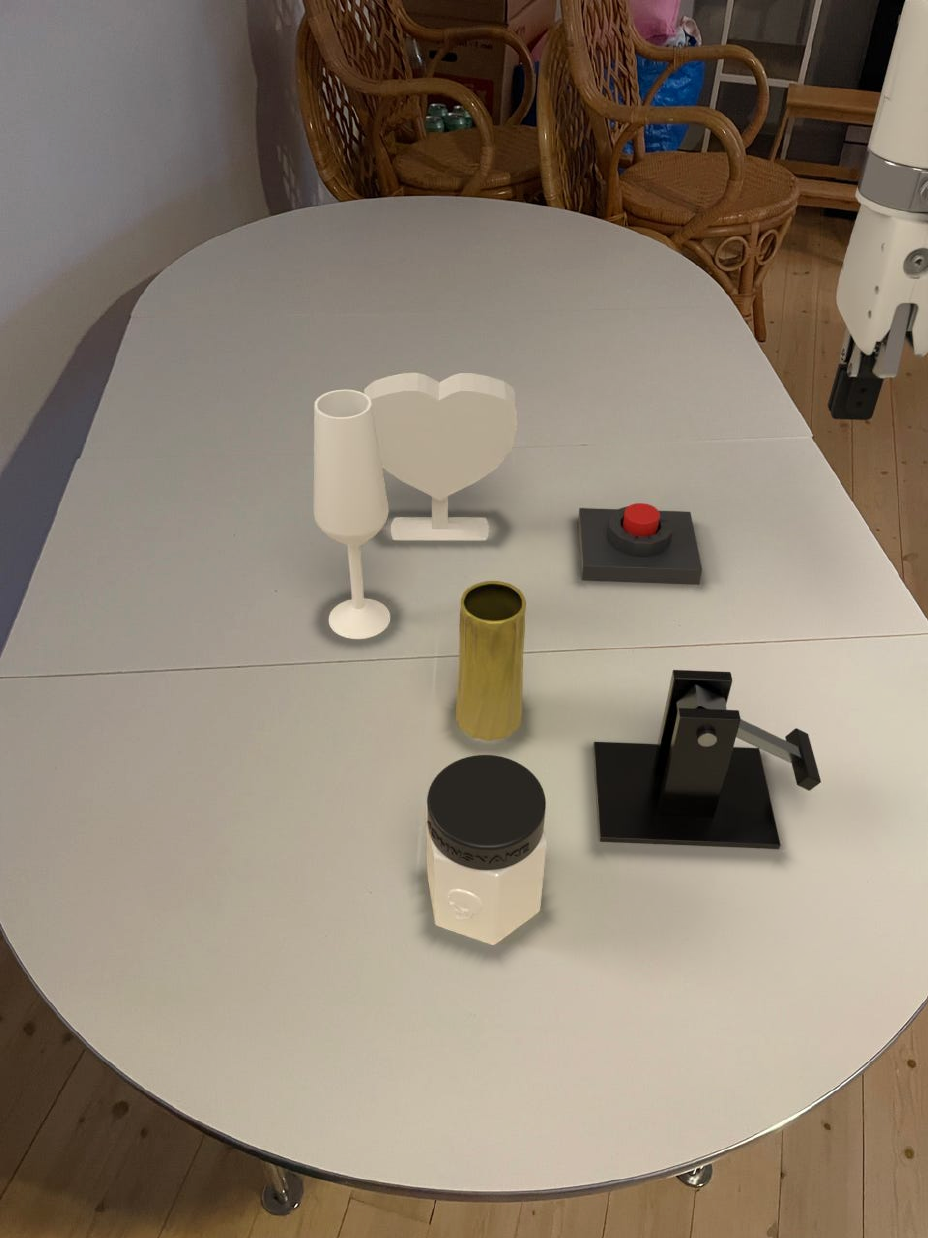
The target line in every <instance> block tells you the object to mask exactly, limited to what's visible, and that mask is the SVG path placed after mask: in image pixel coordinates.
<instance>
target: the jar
mask: <svg viewBox="0 0 928 1238" xmlns="http://www.w3.org/2000/svg"><path fill="white" fill-rule="evenodd" d="M546 809H547V800H546V795H545V791H544V788H543V785H542V784H541V783H540V781H539V779H538V778H537V776H536V775H535V774H534V773H533V772H531V771H530V769H528V768H527V767H525V766H524V765H522V764H521V763H519V762H517V761H516V760H513V759H511V758H508V757H504V756H500V755H495V754H477V755H470V756H466V757H463V758H460V759H458V760H455V761H454V762H452V763H450V764H448V765H447V766H445V767H444V768H442V770H440V772H438V773H437V775H436V776H435V777H434V779H433V780H432V782H431V784H430V786H429V788H428V792H427V798H426V804H425V826H426V827H425V828H426V829H425V831H426V868H427V869H426V870H427V881H428V887H429V893H430V900H431V906H432V913H433V920H434V924H435V925H436V927H440V928H442V929H445V930H448V931H451V932H453V933H457V934H460V935H463V936H465V937H467V938H471V939H474V940H477V941H480V942H483V943H486V944H488V945H491V946H494V945H497V944H498V943H500V941H502V940H503V939H505V938H506V937H508V936H509V935H510V934H511V933H513V932H514V931H515V930H517V929H518V928H520V927H522V925H524V924H525V923H527V921H530V919H532V918H533V917H534V916H536V915H537V914H539V913H540V912H541V907H542V906H541V905H542V898H543V897H542V895H543V886H544V876H545V866H546V858H547V857H546V856H547V847H548V840H547V836H546V833H545V832H546V831H545V828H544V827H545V819H546V818H545V817H546Z"/></svg>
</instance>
